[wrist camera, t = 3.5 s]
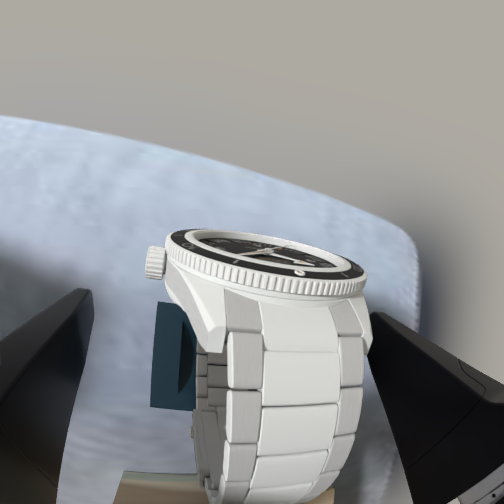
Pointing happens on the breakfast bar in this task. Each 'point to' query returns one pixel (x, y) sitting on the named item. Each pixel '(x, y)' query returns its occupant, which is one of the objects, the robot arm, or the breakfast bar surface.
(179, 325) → the watch
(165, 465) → the breakfast bar surface
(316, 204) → the breakfast bar surface
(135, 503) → the keyed holder
